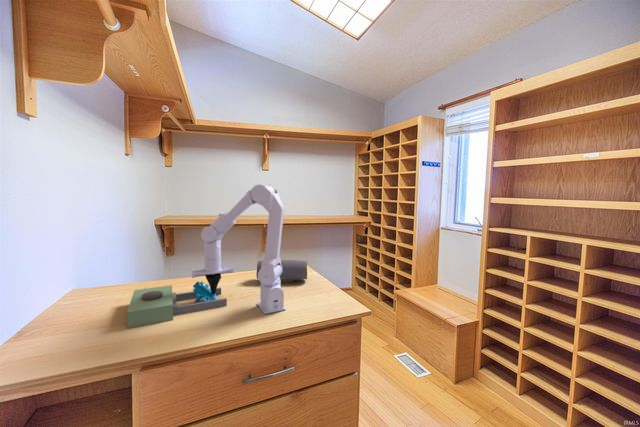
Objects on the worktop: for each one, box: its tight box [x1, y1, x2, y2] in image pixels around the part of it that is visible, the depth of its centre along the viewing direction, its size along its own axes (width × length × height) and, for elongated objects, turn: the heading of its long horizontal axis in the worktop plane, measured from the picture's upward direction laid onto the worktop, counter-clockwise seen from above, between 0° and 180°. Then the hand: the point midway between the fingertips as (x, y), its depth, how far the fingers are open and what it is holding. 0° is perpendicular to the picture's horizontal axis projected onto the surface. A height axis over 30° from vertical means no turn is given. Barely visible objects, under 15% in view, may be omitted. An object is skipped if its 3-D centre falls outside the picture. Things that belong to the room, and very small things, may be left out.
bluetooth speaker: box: [255, 259, 308, 283], centre depth 126 cm, size 23×9×10 cm, turn 94°
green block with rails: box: [126, 284, 228, 329], centre depth 97 cm, size 20×29×6 cm
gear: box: [192, 281, 217, 303], centre depth 102 cm, size 11×6×10 cm
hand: (213, 293), depth 102 cm, fingers closed
